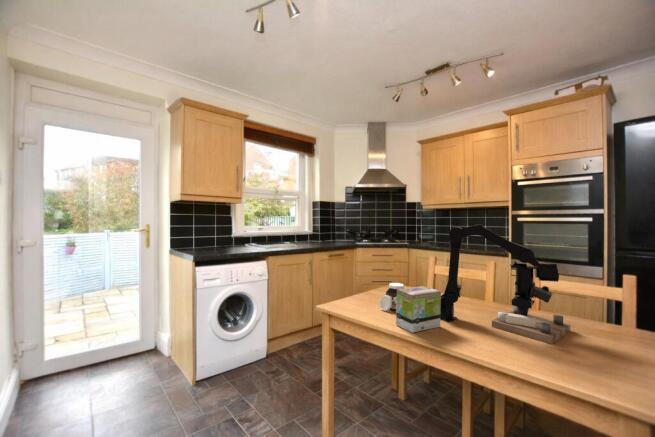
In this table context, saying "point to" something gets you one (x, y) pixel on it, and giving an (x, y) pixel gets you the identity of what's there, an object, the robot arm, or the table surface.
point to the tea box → (418, 308)
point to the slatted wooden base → (537, 328)
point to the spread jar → (390, 297)
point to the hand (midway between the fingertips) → (524, 318)
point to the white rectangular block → (517, 319)
